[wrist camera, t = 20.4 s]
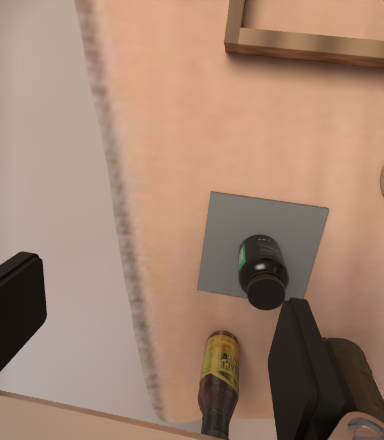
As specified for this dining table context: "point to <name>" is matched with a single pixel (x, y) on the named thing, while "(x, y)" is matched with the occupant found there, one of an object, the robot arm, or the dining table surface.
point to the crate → (298, 43)
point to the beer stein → (358, 377)
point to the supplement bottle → (262, 272)
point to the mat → (253, 225)
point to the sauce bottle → (219, 384)
